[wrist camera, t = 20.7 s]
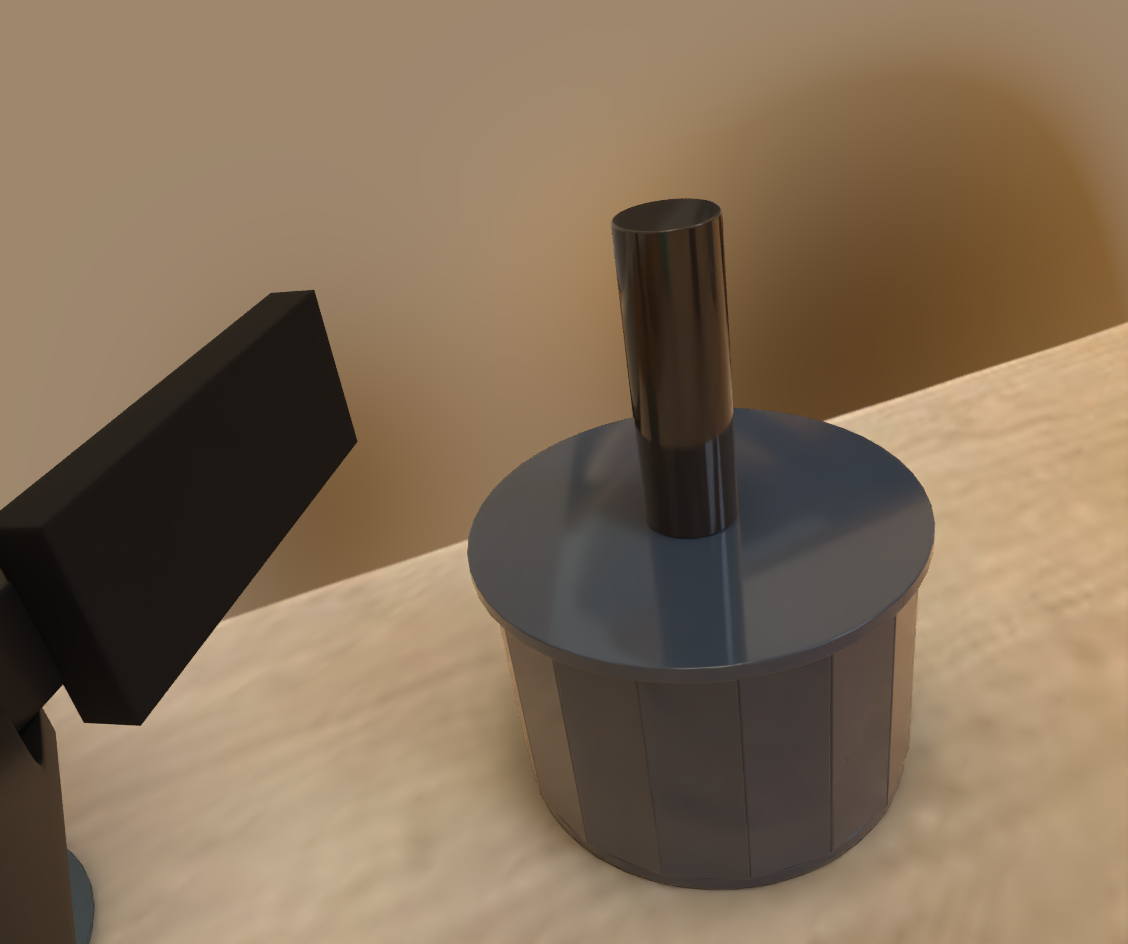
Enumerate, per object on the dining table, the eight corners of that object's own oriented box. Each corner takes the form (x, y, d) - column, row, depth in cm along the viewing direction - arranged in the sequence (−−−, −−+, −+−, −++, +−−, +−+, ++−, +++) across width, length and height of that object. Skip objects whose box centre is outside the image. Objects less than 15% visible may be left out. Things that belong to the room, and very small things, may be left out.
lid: (800, 403, 36) (796, 123, 31) (1041, 616, 24) (1097, 223, 19) (446, 489, 34) (379, 207, 29) (522, 766, 22) (433, 375, 17)
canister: (798, 581, 39) (795, 396, 35) (987, 816, 29) (1014, 591, 24) (501, 662, 38) (459, 478, 33) (583, 945, 27) (536, 727, 23)
